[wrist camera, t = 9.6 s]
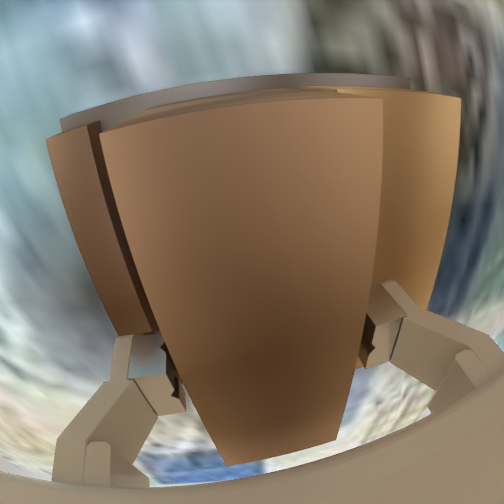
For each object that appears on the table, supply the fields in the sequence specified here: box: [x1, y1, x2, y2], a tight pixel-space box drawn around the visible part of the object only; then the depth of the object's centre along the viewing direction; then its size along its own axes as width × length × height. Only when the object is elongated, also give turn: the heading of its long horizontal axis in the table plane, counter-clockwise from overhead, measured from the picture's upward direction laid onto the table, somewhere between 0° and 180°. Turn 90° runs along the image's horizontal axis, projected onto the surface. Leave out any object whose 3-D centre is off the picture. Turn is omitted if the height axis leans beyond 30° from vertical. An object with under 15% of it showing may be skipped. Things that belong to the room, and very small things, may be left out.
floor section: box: [46, 73, 461, 369], centre depth 12 cm, size 14×13×4 cm
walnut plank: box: [99, 88, 383, 466], centre depth 10 cm, size 4×12×6 cm, turn 6°
